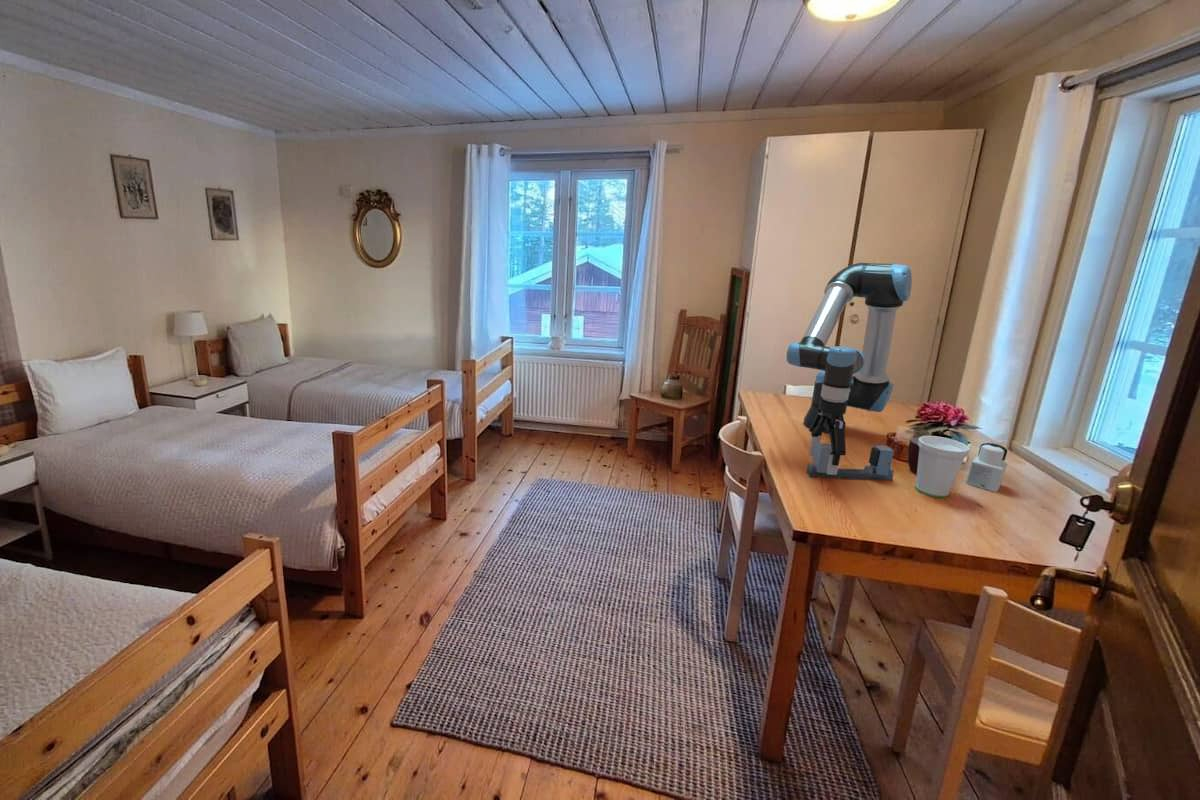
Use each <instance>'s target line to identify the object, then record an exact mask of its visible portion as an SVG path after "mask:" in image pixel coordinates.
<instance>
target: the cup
mask: <svg viewBox="0 0 1200 800" xmlns="http://www.w3.org/2000/svg"><path fill="white" fill-rule="evenodd" d="M918 438H919V440H918V446H919V448H920V449H919V458H918V468H917V473H916V479H915V486H914V488H915V489H916V490H917V492H919V493H920V494H923V495H925V496H929V497H932V498H941V499H942V498H947V497H949V495H950V492H951V490H952V487H953V485H954V483H955V481H956V478H957V476H958V474H959V471H960V469H961V467H962V464H963V462H964V460H965V458H966V457H967V456H969V453H970V447H969V446H968V445H966V444H965V443H963V442H961V441H958V440H955V439H952V438H949V437H942V436H936V435H922V436H920V437H918Z"/></svg>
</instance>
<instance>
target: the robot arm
mask: <svg viewBox="0 0 1200 800" xmlns="http://www.w3.org/2000/svg"><path fill="white" fill-rule="evenodd" d="M912 277H913V276H912V270H911V268H910V267H909V266H908V265H905V264H896V263H875V262H874V263H873V262H872V263H871V262H869V263H868V262H867V263H866V262H858V263H857V262H856V263H853V264H850V265H848V266H846V267H844V268H842V269H841V270H839V271H838V272H837V273H836V274H834V275H833V276H832V278H830V280H829V281H828V282H827V284H826V286H825V288H824V291H823V293H824V296H823V298H822V300H821V302H820V304H819V306H818V307H817V310H816V312H815V313H814V316H813V317H812V319H811V321H810V323H809V324H808V326H807V328H806V331H805V332H804V335H803V336H802V338H801V340H800V341H797V342H796V341H793V342H791V343H790V344H789V346H788V347H787V351H786V362H787V364H789V365H792V366H795V367H800V368H808V369H813V370H817V371H818V370H819V371H818V372H817V373H816V376H815V381H814V382H813V383H814V386H813V391H812V398H811V404H810V407H809V409H808V411H807V412H806V415H805V416H804V418H803V422H802V424H803V426H804V427H806V428H808V431H809V432H810V435H811V440H810V445H809V451H808V457H814V453H815V447H816V443H821V442H822V436H823V433H827V434H829V439H830V440H829V441H830V445H831V448H832V452H831V453H830V458H829V463H828V468H827V474H830V475H837V471H838V468H839V464H840V460H841V456H845V457H846V454H847V451H846V449H847V448H846V423H847V422H846V421H845V417H844V415H845V414H846V412H847V408H848V407H849V408H855V409H858V410H859V409H860V410H863V411H867V412H874V413H875V412H876V413H881V412H883V411H884V410H885V408H886V406H887V404H888V402H889V400H890V397H891V394H892V392H893V389H894V383H893V382H891V381H890V375H888V374H887V366H888V361H889V357H890V351H891V350H890V349H891V343H892V340H893V333H894V327H895V322H896V317H897V315H896V314H897V311H898V309H900V308H901V307H902V306H903V305H904V302H907V301H908V300H909V299H910V296H911V291H912V284H913V283H912V282H913V281H912V280H913V279H912ZM853 298H864V305H865V306H866V307H867V308H868V312H867V318H866V323H865V324H866V325H865V331H864V338H863V346H862V351H861V350H859V349H857V348H852V347H849V346H848V347H847V346H839V345H838V346H832V347H831V346H826V345H827V343H828V341H829V339H830V337H831V335H832V333H833V331H834V329H835V327H836V325H837V323H838V321H839V319H840V318H841V315H842V313H843V310H845V309H844V308H846V305H847V304H848V303H850V302H851V301H852V299H853Z"/></svg>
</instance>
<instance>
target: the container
mask: <svg viewBox="0 0 1200 800" xmlns="http://www.w3.org/2000/svg"><path fill="white" fill-rule="evenodd" d="M1007 453H1008V449H1007V448H1006V447H1004V446H1003V445H1000V444H997V443H991V442H986V443H982V444H980V447H979V450H978V453H977V455H976V456H975V457H974V458H973V460H972V461H971V465H970V467H969V468H970V469H969V471H968V475H967V480H966V484H967V485H970V486H973V487H977V488H980V489H984V490H986V491H990V492H994V493H997V492H998V491H999V489H1000V487H1002V484H1003V480H1004V476H1005V473H1006V470H1007V466H1008V462H1007V461H1005V460H1006V457H1007Z"/></svg>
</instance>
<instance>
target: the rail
mask: <svg viewBox="0 0 1200 800" xmlns="http://www.w3.org/2000/svg"><path fill="white" fill-rule="evenodd" d="M894 452H895V450H893V449H892V448H891V447H889V446H887V445H878V444H877V445H873V446H872V447H871V450H870V455H869V458H868V463H869V465H864V468H863V469H861V468H839V467H838V471H837V475H830V474H827V473H821V472H816V470H815V467H814V466H813V465H812V464H813V463H810V462H808V463H807V466H806V472H805V474H806V473H807V474H808V475H809V476H808V475H807V474H806V475H807V476H808V477H809V478H816V477H821V479H845V480H846V479H847V480H848V479H849V480H870V481H871V480H872V481H893V478H894V473H895V469H894V468H892V467H891V464H892V460H893V457H894Z"/></svg>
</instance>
